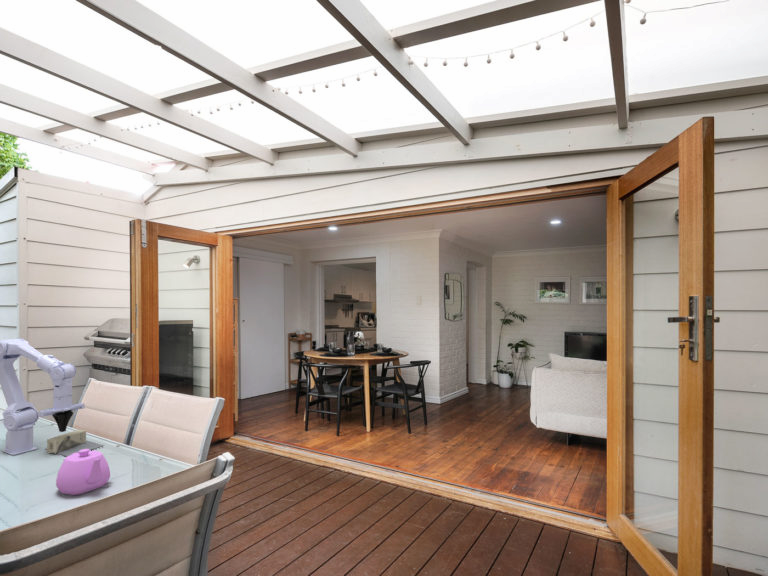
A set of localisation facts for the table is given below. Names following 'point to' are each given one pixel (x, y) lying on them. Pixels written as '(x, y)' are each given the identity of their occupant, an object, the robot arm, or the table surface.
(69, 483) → the teapot
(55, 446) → the box
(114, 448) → the table surface
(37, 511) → the table surface
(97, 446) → the mat
